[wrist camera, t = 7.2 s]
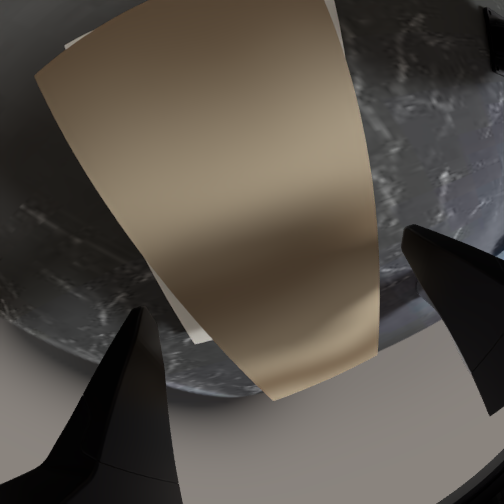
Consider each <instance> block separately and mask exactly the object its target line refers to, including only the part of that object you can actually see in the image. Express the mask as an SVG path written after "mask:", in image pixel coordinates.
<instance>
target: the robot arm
mask: <svg viewBox="0 0 504 504" xmlns="http://www.w3.org/2000/svg"><path fill="white" fill-rule="evenodd" d="M484 14H485V18H486V24H487V29H488V36H489V43H490V51H491V62H492V69H493V72H495V73H497V74H500V75H503V76H504V18H503V17H502V16H500V15H499V14H497V13H496V12H494V11H493V10H491V9H490V8H487V7H484ZM401 249H402V252H403V254H404V255H405V257H406V259H407V261H408V262H409V264H410V266H411V268H412V270H413V271H414V273H415V275H416V277H417V279H418V281H419V282H420V284H421V286H422V287H423V289H424V291H425V292H426V294H427V295H428V297H429V298H430V300H431V302H432V303H433V305H434V306H435V308H436V310H437V311H438V313H439V315H440V316H441V318H442V320H443V321H444V323H445V325H446V327H447V328H448V330H449V332H450V334H451V335H452V337H453V339H454V341H455V343H456V345H457V347H458V348H459V350H460V352H461V354H462V356H463V358H464V360H465V362H466V364H467V366H468V368H469V370H470V372H471V375H472V377H473V379H474V381H475V383H476V385H477V388H478V390H479V392H480V395H481V397H482V399H483V402H484V404H485V407H486V409H487V412H488V414H489V415H490V416H491V415H493V414H494V413H496V412H497V411H498V410H500V409H501V408H502V407H504V260H502V259H500V258H498V257H495V256H493V255H491V254H489V253H487V252H484V251H482V250H480V249H477V248H475V247H473V246H470V245H468V244H465V243H463V242H460V241H458V240H455V239H453V238H450V237H448V236H445V235H443V234H440V233H437V232H435V231H432V230H429V229H426V228H424V227H421V226H418V225H415V224H413V225H409V226H407V227H405V228H404V231H403V237H402V243H401ZM83 395H84V396H82V397H81V399H80V401H79V403H78V405H77V407H76V408H75V410H74V412H73V414H72V416H71V418H70V419H69V421H68V423H67V424H66V426H65V428H64V430H63V431H62V433H61V435H60V436H59V438H58V440H57V441H56V443H55V445H54V447H53V449H52V450H51V452H50V454H49V455H48V457H47V458H46V460H45V461H44V462H43V463H42V464H41V465H40V466H38V467H37V468H35V469H33V470H31V471H29V472H27V473H25V474H23V475H20V476H18V477H16V478H14V479H12V480H9V481H7V482H5V483H3V484H0V504H183V502H182V498H181V492H180V487H179V484H178V477H177V472H176V466H175V460H174V454H173V447H172V439H171V432H170V424H169V414H168V405H167V394H166V381H165V369H164V362H163V357H162V351H161V345H160V338H159V331H158V326H157V323H156V321H155V320H154V318H153V317H152V315H151V314H150V312H149V311H148V309H147V308H146V307H145V306H141V307H137V308H134V309H132V310H131V312H130V314H129V315H128V317H127V318H126V320H125V322H124V323H123V325H122V327H121V328H120V330H119V331H118V333H117V335H116V336H115V338H114V340H113V341H112V343H111V345H110V347H109V348H108V350H107V352H106V353H105V355H104V357H103V359H102V360H101V362H100V364H99V366H98V367H97V369H96V371H95V373H94V375H93V377H92V378H91V380H90V382H89V384H88V386H87V388H86V389H85V391H84V393H83ZM437 504H504V449H503V450H502V451H501V452H500V453H499V454H498V455H497V456H496V457H495V458H494V459H493V460H492V461H491V462H490V463H488V464H487V465H486V466H485V467H484V468H483V469H482V470H480V471H479V472H478V473H477V474H476V475H475V476H473V477H472V478H471V479H470V480H468V481H467V482H466V483H465V484H463V485H462V486H461V487H459V488H458V489H457V490H456V491H454V492H453V493H451V494H450V495H449V496H447V497H446V498H444V499H443V500H441V501H440V502H438V503H437Z"/></svg>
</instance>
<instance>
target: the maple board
mask: <svg viewBox="0 0 504 504" xmlns="http://www.w3.org/2000/svg"><path fill="white" fill-rule="evenodd" d="M34 77H35V79H36V81H37V83H38V86H39V88H40V90H41V92H42V94H43V96H44V98H45V100H46V102H47V104H48V106H49V108H50V110H51V112H52V114H53V116H54V118H55V120H56V122H57V124H58V126H59V127H60V129H61V131H62V133H63V135H64V137H65V138H66V140H67V142H68V144H69V145H70V147H71V149H72V151H73V152H74V154H75V156H76V157H77V159H78V161H79V163H80V164H81V166H82V167H83V169H84V171H85V172H86V174H87V176H88V177H89V179H90V180H91V182H92V184H93V185H94V187H95V188H96V190H97V191H98V193H99V194H100V196H101V197H102V199H103V200H104V202H105V203H106V205H107V206H108V208H109V209H110V211H111V212H112V214H113V215H114V217H115V218H116V220H117V221H118V222H119V224H120V225H121V227H122V228H123V229H124V231H125V232H126V234H127V235H128V236H129V238H130V239H131V241H132V242H133V243H134V245H135V246H136V247H137V249H138V250H139V251H140V253H141V254H142V255H143V257H144V258H145V259H146V261H147V262H148V263H149V264H150V266H151V267H152V268H153V270H154V271H155V272H156V273H157V275H158V276H159V277H160V278H161V280H162V281H163V282H164V283H165V285H166V286H167V287H168V288H169V290H170V291H171V292H172V293H173V294H174V296H175V297H176V298H177V299H178V300H179V302H180V303H181V304H182V305H183V306H184V308H185V309H186V310H187V311H188V312H189V313H190V315H191V316H192V317H193V318H194V319H195V320H196V322H197V323H198V324H199V325H200V326H201V327H202V328H203V329H204V331H205V332H206V333H207V334H208V335H209V336H210V337H211V338H212V339H213V340H214V342H215V343H216V344H217V345H218V346H219V347H220V348H221V349H222V350H223V351H224V352H225V353H226V354H227V355H228V357H229V358H230V359H231V360H232V361H233V362H234V363H235V364H236V365H237V366H238V367H239V368H240V369H241V370H242V371H243V372H244V373H245V374H246V375H247V376H248V377H249V378H250V379H251V380H252V381H253V382H254V383H255V384H256V385H257V386H258V387H259V388H260V389H261V390H262V391H263V392H264V393H265V394H266V395H267V396H269V397H270V398H271V399H272V400H273V401H275V400H277V399H280V398H283V397H286V396H288V395H291V394H294V393H296V392H299V391H301V390H304V389H306V388H309V387H311V386H313V385H316V384H318V383H321V382H323V381H325V380H327V379H330V378H332V377H334V376H336V375H338V374H341V373H343V372H345V371H347V370H349V369H351V368H353V367H355V366H357V365H359V364H361V363H363V362H365V361H367V360H369V359H371V358H372V357H374V356H376V355H377V351H378V336H379V307H380V278H379V249H378V233H377V220H376V210H375V200H374V192H373V184H372V176H371V170H370V163H369V157H368V151H367V145H366V140H365V135H364V130H363V125H362V120H361V116H360V111H359V107H358V103H357V98H356V94H355V91H354V87H353V83H352V79H351V76H350V72H349V69H348V65H347V62H346V59H345V56H344V53H343V49H342V46H341V43H340V40H339V38H338V35H337V32H336V29H335V26H334V24H333V21H332V19H331V16H330V13H329V11H328V8H327V6H326V4H325V1H324V0H148V1H146V2H144V3H142V4H140V5H138V6H136V7H134V8H132V9H130V10H128V11H126V12H124V13H122V14H120V15H119V16H117V17H115V18H113V19H112V20H110V21H108V22H106V23H105V24H103V25H101V26H100V27H98V28H97V29H95V30H93V31H92V32H90V33H89V34H87V35H86V36H84V37H83V38H81V39H80V40H78V41H77V42H76V43H74V44H73V45H71V46H70V47H69V48H67V49H66V50H65V51H63V52H62V53H61V54H59V55H58V56H57V57H56V58H54V59H53V60H52V61H51V62H49V63H48V64H47V65H46V66H45V67H44V68H42V69H41V70H40V71H39V72H38V73H37V74H36V75H34Z"/></svg>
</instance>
